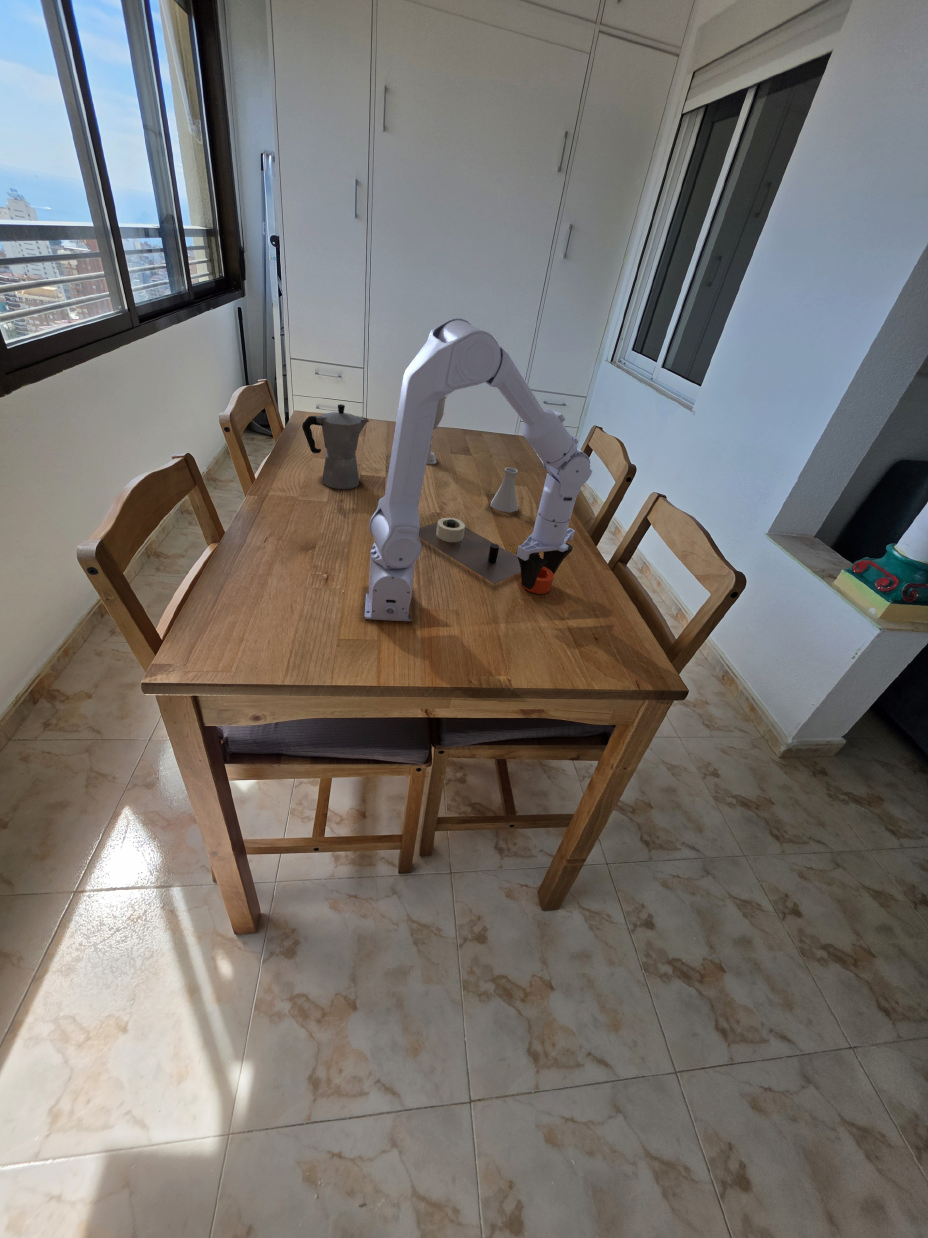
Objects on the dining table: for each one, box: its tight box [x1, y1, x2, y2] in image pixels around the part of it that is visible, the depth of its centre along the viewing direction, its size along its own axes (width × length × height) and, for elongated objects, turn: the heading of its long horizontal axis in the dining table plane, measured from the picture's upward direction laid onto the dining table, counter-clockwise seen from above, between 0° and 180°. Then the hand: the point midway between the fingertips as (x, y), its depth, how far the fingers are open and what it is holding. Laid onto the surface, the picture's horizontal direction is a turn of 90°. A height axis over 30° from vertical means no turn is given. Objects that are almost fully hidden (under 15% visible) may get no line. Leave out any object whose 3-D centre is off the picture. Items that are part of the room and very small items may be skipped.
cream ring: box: [436, 517, 466, 542], centre depth 111 cm, size 6×6×3 cm
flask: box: [489, 466, 519, 513], centre depth 126 cm, size 7×7×10 cm
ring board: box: [419, 519, 521, 585], centre depth 108 cm, size 24×12×4 cm, turn 46°
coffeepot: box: [301, 404, 370, 490], centre depth 123 cm, size 15×9×18 cm, turn 121°
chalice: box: [426, 394, 449, 465], centre depth 143 cm, size 7×7×18 cm
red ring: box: [520, 566, 555, 595], centre depth 99 cm, size 6×6×3 cm
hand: (536, 581), depth 100 cm, fingers closed on red ring, 5 cm apart
